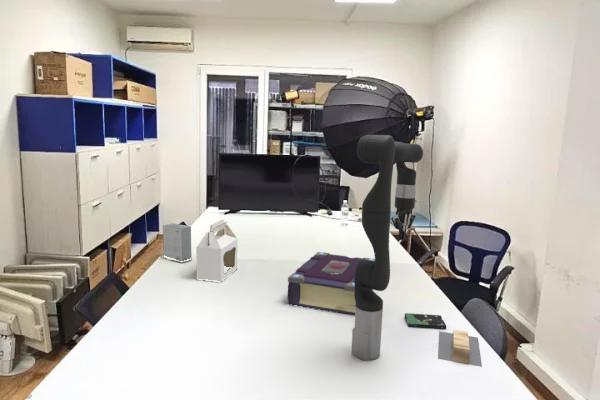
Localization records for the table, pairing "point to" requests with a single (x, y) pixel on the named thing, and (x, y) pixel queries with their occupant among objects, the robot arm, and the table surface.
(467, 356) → the oak block
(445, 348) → the rubber mat
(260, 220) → the table surface
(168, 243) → the hard drive box
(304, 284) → the book
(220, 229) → the gable box
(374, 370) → the table surface
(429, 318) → the disk drive
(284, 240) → the table surface
